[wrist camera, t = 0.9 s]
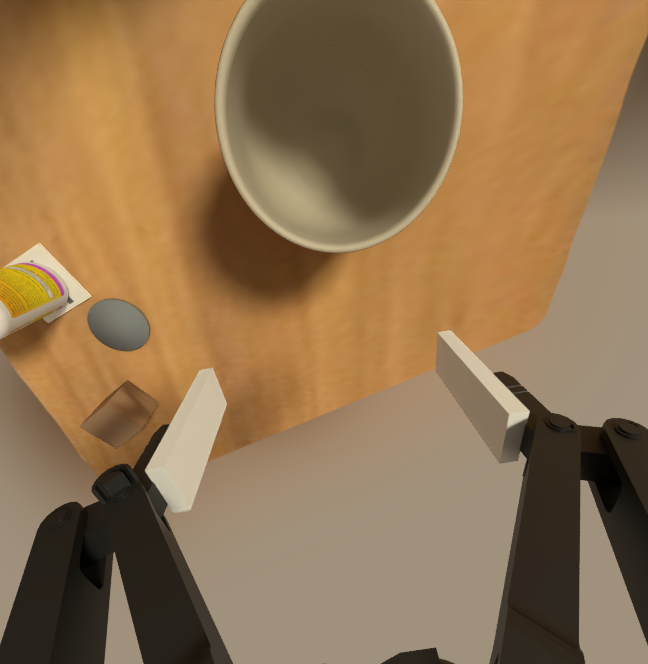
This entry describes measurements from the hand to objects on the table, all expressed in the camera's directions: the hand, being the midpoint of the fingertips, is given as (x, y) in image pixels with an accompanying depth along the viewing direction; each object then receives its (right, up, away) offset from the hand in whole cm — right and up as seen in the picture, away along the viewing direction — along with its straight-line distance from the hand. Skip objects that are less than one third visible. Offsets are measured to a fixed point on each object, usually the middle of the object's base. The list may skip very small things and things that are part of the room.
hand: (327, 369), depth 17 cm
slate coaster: (-29, +3, +25) cm, 38 cm away
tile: (-37, +8, +21) cm, 44 cm away
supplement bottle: (-37, +8, +21) cm, 44 cm away
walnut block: (-32, -9, +31) cm, 45 cm away
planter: (0, +23, +17) cm, 29 cm away
